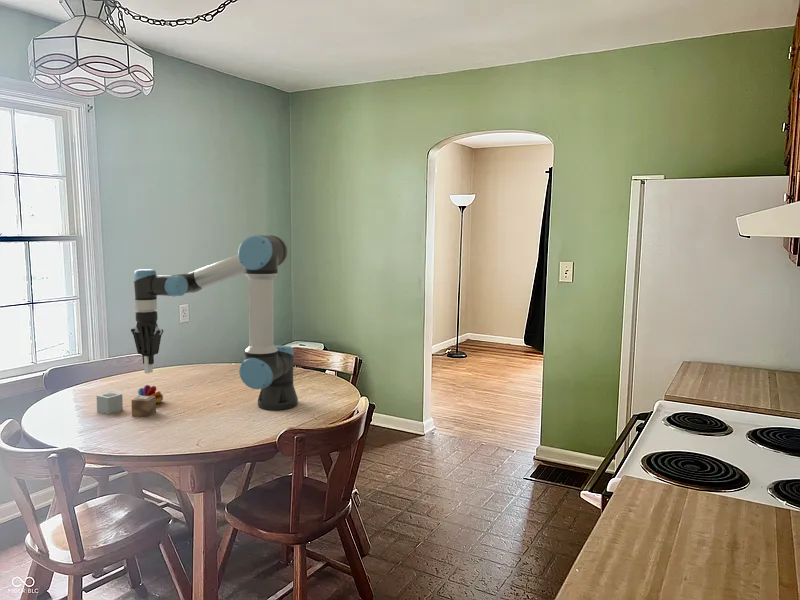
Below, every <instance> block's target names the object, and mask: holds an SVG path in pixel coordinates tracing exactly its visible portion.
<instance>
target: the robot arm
mask: <svg viewBox="0 0 800 600" xmlns="http://www.w3.org/2000/svg"><path fill="white" fill-rule="evenodd" d="M237 250H238V251H237V254H236V255H232V256H230V257H227V258H225V259H222V260H219V261H216V262H214V263H212V264H209V265H206V266H204V267H200V268H198V269H195V270H192V271H189V272H187V273H186V272H185V273H181V274H169V275H168V274H167V275H164V274H163V275H162V274H161V275H159V274H157V271H156V270H155V269H153V268H152V269H151V268H150V269H148V268H145V269H144V268H143V269H136V270H134V272H133V273H134V277H133V278H134V280H133V284H134V285H133V286H134V296H135V297H134V309H135V311H136V312H135V321H136V326H135V327H133V328H131V329H130V332H131V333H132V335H133V340H134V344H135V348H136V351H137V354H138V355H141V356H142V364H143V365H144V374H151V373H153V372H154V369H153V368H154V367H153V365H154V363H155V358H154V357H155V355H158V354H159V352H160V345H161V340H162V335H163V334H164V329H160V328H159V325H158V323H157V322H158V311H157V309H158V301H157V300H158V298H157V297H158V296H164V297H165V296H166V297H182V296H184V295H185V294H191V293H192V294H194V293H197V292H199V291H202V289H204V288H207V287H210V286H213V285H216V284H218V283H222V282H224V281H227V280H230V279H233V278H236V277H239V276H241V275H244V276H245V277H246V278H247V280H248V283H247V284H248V346H247V347H246V348H245V349H244V360H243V361H242V362H241V364H240V366H239V370H238V371H239V378H240V379H241V381H242V383H243V384H245V386H246V387H248V388H250V389H252V390H253V389H254V390H260V392H259V395H258V398H257V407H259V408H260V409H263V410H268V411H282V410H288V409H293V408H296V407H297V406H298V404H299V399H298V398H299V397H298V395H297V392H296V388H295V386H294V360H295V359H294V358H295V354H294V349H293V347H292V346H290V345H289V346H288V345H277V344H274V341H275V340H274V339H275V338H274V329H275V328H274V278H276V276H277V275H278V274H279V272H278V269H279V268H278V267H279V266H281V265H282V264H283V263H284V262H285V261H286V259H287V257H288V254H289V253H288V252H289V250H288V246H287V244H286V242H285V241H284V240H283V239H282V238H280V237H278V236H275V235H262V234H261V235H260V234H256V235H252V236H248V237H246V238H245V239H243V240H242V242H241V243H240V244H239V247H238V249H237Z"/></svg>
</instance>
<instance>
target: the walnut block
mask: <svg viewBox="0 0 800 600" xmlns="http://www.w3.org/2000/svg"><path fill="white" fill-rule="evenodd" d="M135 397H136V396H135ZM135 397H134V398H133V399H131V417H137V418H139V417H140V418H143V417H144V418H145V417H146V418H149V417H151V416H152V415H154V414H155V413H157V403H156V396H138V397H136V398H135Z"/></svg>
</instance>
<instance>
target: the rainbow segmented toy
mask: <svg viewBox="0 0 800 600" xmlns="http://www.w3.org/2000/svg"><path fill="white" fill-rule="evenodd" d="M138 396H156V404H157V403H161V402H162V401H163V400H164V394H163V393H162V392H161V391H159V390H158V391H157V387H156V386H155V385H153V386H150V385H148V384H146V385H144V386H143V387H140V388H138V390H137V395H136V396H135V397H134V398H136V397H138Z"/></svg>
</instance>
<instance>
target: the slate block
mask: <svg viewBox="0 0 800 600" xmlns="http://www.w3.org/2000/svg"><path fill="white" fill-rule="evenodd" d="M123 403H124V402H123V394H122V393H118V392H113V391H110V392H105V393H102V394H98V395H96V412H97V413H102V414H106V415H110V414H115V413H117V412H120V411H123V410H124V406H123Z"/></svg>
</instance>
